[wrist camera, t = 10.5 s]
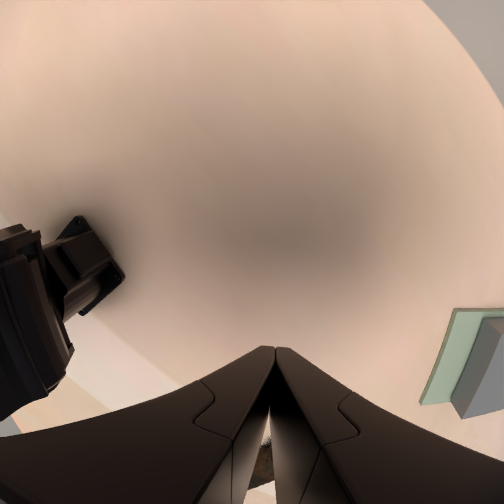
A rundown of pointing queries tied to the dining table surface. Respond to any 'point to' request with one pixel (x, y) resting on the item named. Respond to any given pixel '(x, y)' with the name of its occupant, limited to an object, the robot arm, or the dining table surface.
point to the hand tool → (262, 468)
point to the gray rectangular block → (483, 373)
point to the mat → (455, 353)
